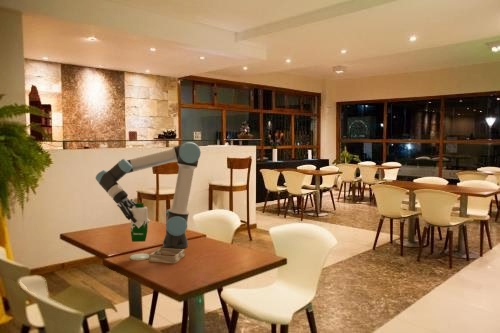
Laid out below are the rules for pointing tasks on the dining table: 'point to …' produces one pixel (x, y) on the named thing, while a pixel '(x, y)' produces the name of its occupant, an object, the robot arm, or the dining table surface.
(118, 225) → the dining table surface
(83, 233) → the dining table surface
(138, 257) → the pale green disc
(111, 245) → the dining table surface
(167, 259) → the dock
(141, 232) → the soya milk
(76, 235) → the dining table surface
